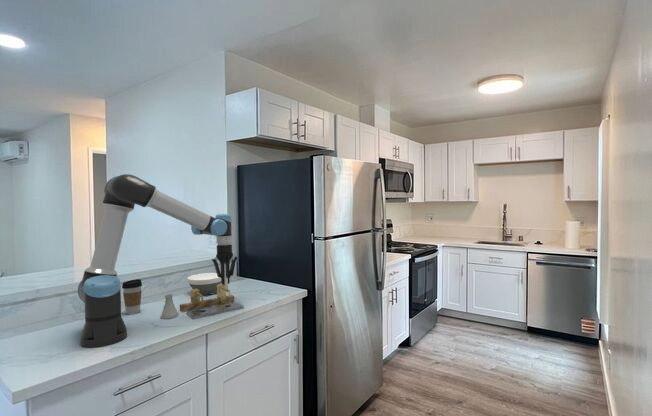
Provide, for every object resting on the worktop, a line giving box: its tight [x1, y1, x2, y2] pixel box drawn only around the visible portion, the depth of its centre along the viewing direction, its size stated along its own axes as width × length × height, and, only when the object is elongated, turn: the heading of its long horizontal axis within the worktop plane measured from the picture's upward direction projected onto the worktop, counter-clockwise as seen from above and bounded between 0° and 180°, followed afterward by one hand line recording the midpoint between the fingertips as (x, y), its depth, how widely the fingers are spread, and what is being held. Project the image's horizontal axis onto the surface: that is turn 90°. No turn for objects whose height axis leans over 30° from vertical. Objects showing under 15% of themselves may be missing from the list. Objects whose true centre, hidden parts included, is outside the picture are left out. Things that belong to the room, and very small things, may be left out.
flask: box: [160, 293, 179, 320], centre depth 160 cm, size 7×7×10 cm
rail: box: [179, 288, 235, 313], centre depth 172 cm, size 26×14×9 cm, turn 126°
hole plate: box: [186, 301, 245, 320], centre depth 167 cm, size 24×9×1 cm, turn 126°
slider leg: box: [216, 283, 231, 305], centre depth 176 cm, size 3×14×9 cm, turn 36°
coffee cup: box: [121, 278, 143, 315], centre depth 168 cm, size 8×8×15 cm
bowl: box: [187, 272, 222, 296], centre depth 203 cm, size 20×20×10 cm
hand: (225, 290), depth 181 cm, fingers closed
